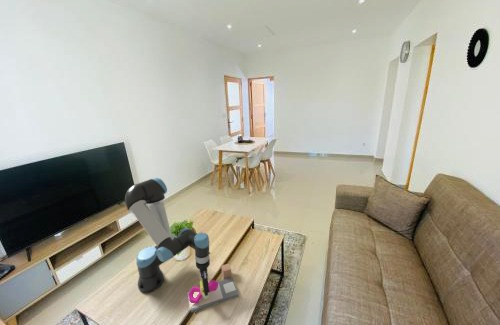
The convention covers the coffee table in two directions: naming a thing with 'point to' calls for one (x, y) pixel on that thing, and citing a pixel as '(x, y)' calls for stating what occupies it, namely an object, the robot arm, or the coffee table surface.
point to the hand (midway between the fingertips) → (204, 287)
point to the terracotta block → (226, 271)
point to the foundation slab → (217, 295)
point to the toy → (201, 291)
